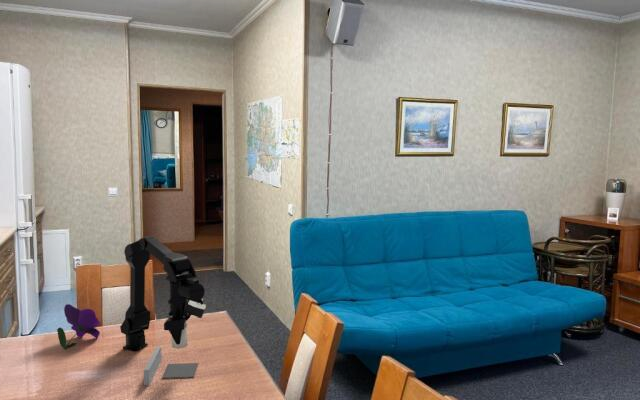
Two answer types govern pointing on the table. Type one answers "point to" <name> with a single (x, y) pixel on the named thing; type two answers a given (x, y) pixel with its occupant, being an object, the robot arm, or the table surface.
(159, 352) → the wall
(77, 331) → the flower
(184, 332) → the cream rounded cone
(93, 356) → the table surface
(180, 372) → the mat
